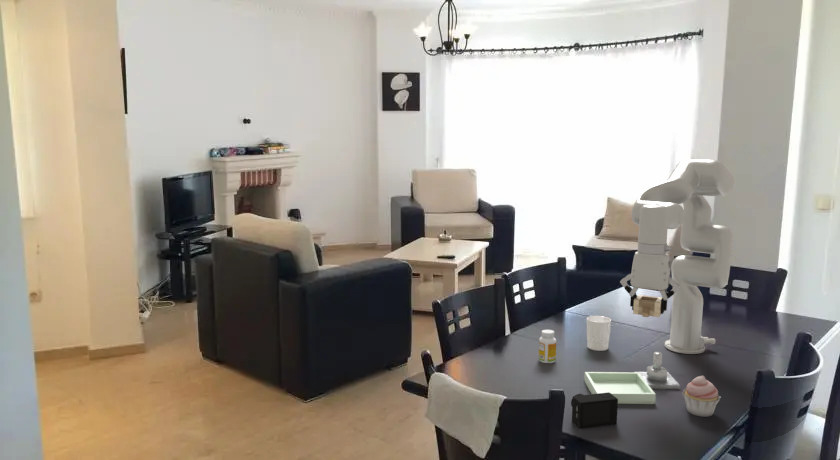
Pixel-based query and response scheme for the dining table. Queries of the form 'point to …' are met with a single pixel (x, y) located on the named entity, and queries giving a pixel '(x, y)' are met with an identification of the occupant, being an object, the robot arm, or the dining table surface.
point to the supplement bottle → (547, 347)
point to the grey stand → (659, 375)
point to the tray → (621, 386)
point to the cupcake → (701, 397)
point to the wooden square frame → (647, 306)
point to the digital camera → (594, 410)
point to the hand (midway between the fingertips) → (648, 310)
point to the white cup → (598, 332)
